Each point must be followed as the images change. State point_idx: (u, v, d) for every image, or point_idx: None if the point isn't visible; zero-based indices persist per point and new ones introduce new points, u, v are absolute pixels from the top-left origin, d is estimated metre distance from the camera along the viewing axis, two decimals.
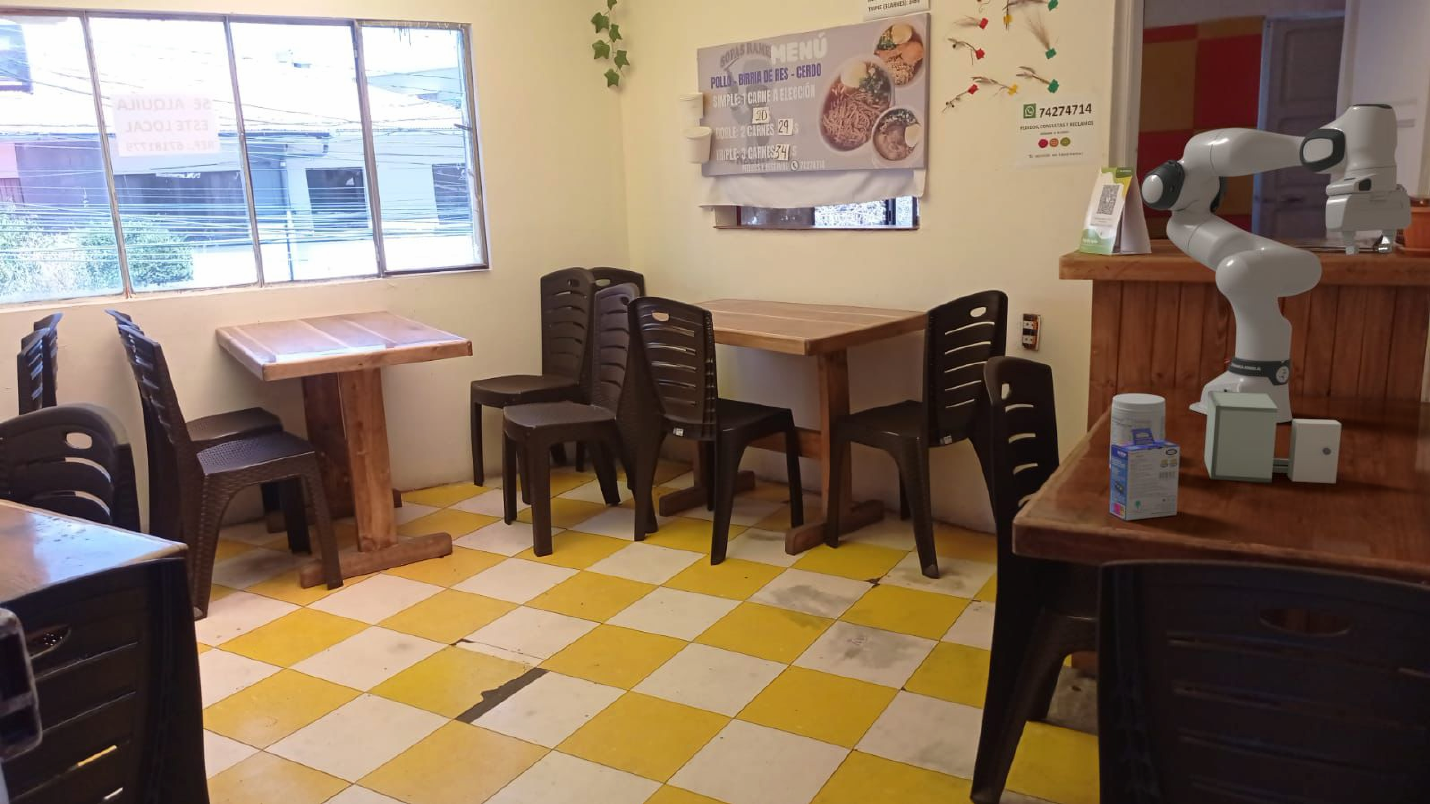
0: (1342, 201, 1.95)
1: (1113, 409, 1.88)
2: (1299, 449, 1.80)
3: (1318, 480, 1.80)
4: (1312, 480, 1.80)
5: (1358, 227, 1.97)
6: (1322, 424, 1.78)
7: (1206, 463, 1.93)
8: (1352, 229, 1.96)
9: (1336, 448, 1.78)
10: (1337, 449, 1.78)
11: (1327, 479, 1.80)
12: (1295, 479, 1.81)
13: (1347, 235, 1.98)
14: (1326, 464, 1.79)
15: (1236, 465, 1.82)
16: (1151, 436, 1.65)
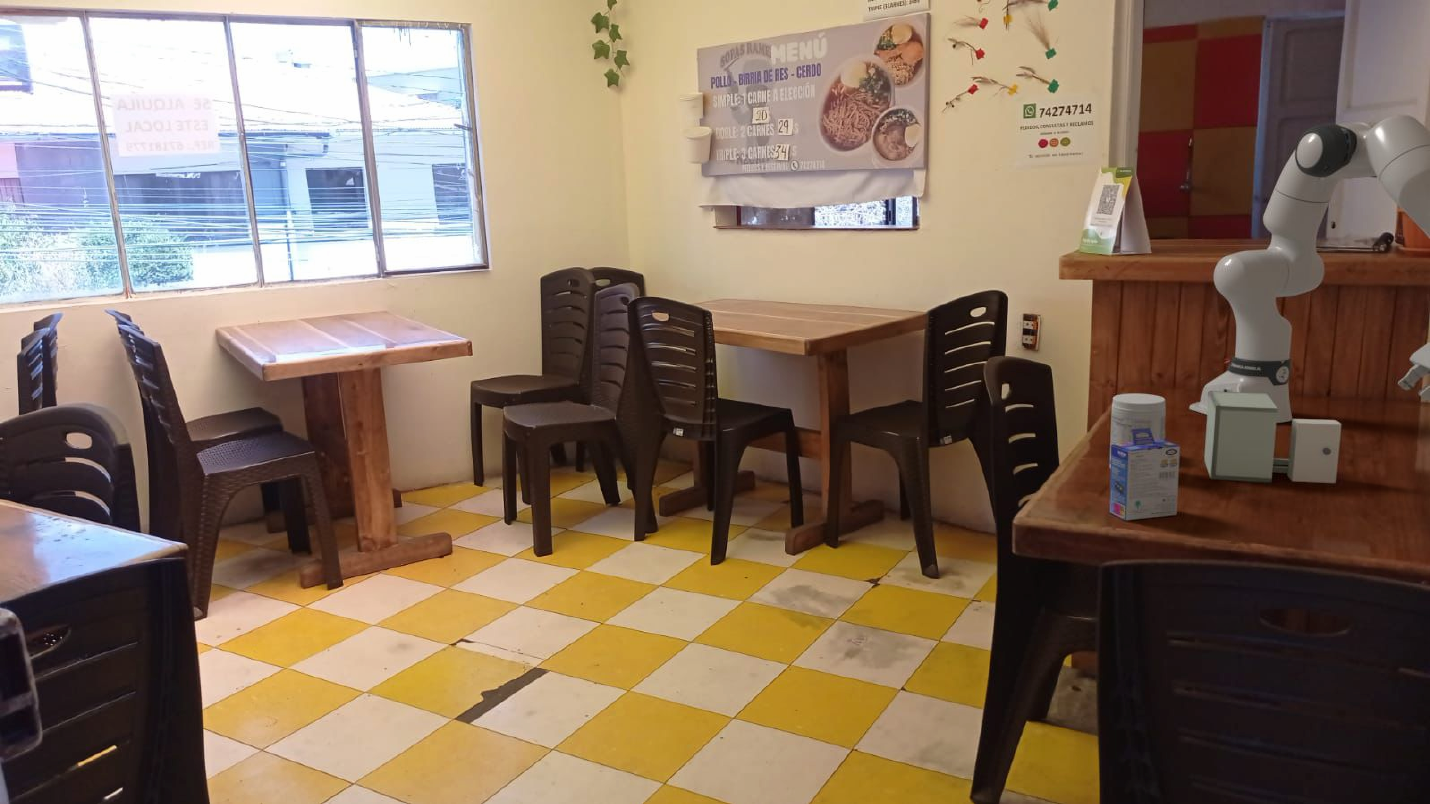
0: None
1: (1113, 409, 1.88)
2: (1299, 449, 1.80)
3: (1318, 480, 1.80)
4: (1312, 480, 1.80)
5: None
6: (1322, 424, 1.78)
7: (1206, 463, 1.93)
8: None
9: (1336, 448, 1.78)
10: (1337, 449, 1.78)
11: (1327, 479, 1.80)
12: (1295, 479, 1.81)
13: None
14: (1326, 464, 1.79)
15: (1236, 465, 1.82)
16: (1151, 436, 1.65)
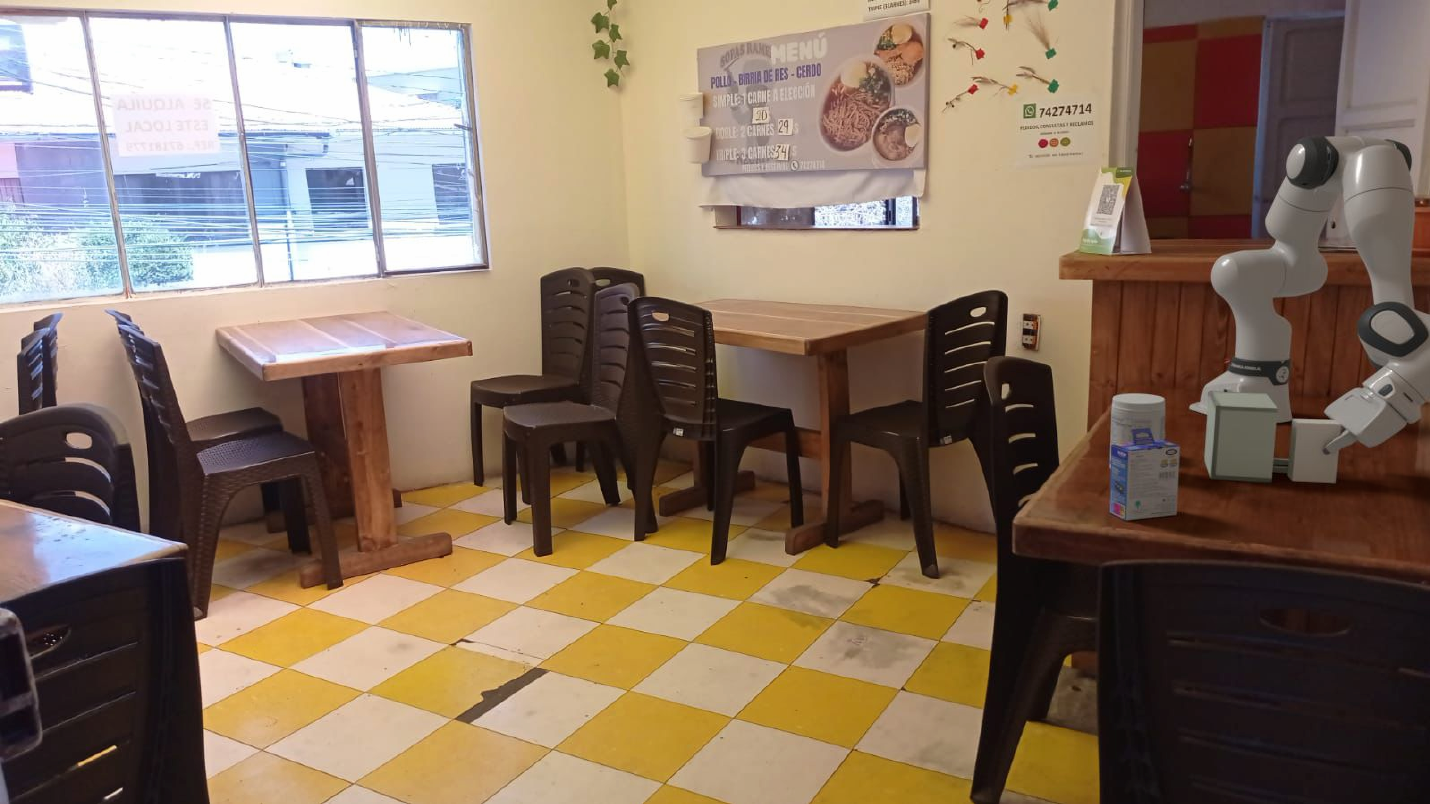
0: (1397, 424, 1.68)
1: (1113, 409, 1.88)
2: (1299, 449, 1.80)
3: (1318, 480, 1.80)
4: (1312, 480, 1.80)
5: None
6: (1322, 424, 1.78)
7: (1206, 463, 1.93)
8: None
9: None
10: None
11: (1327, 479, 1.80)
12: (1295, 479, 1.81)
13: (1351, 439, 1.75)
14: (1326, 464, 1.79)
15: (1236, 465, 1.82)
16: (1151, 436, 1.65)
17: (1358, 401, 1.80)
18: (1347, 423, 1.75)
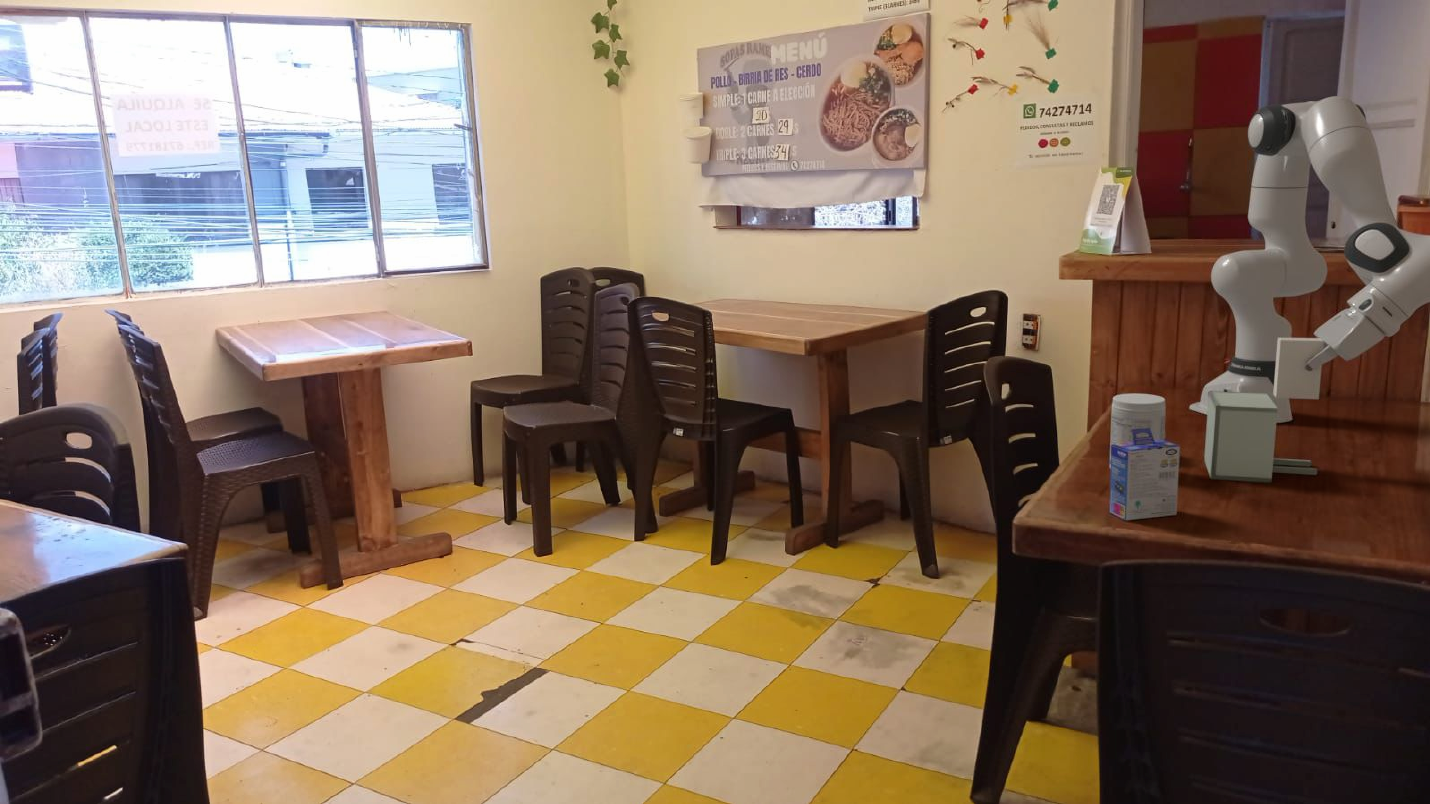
0: (1374, 337, 1.72)
1: (1113, 409, 1.88)
2: (1282, 366, 1.85)
3: (1301, 396, 1.85)
4: (1295, 396, 1.85)
5: None
6: (1305, 341, 1.83)
7: (1206, 463, 1.93)
8: None
9: None
10: None
11: (1310, 395, 1.84)
12: (1278, 396, 1.86)
13: (1331, 354, 1.79)
14: (1309, 381, 1.84)
15: (1236, 465, 1.82)
16: (1151, 436, 1.65)
17: (1343, 319, 1.83)
18: (1328, 339, 1.79)
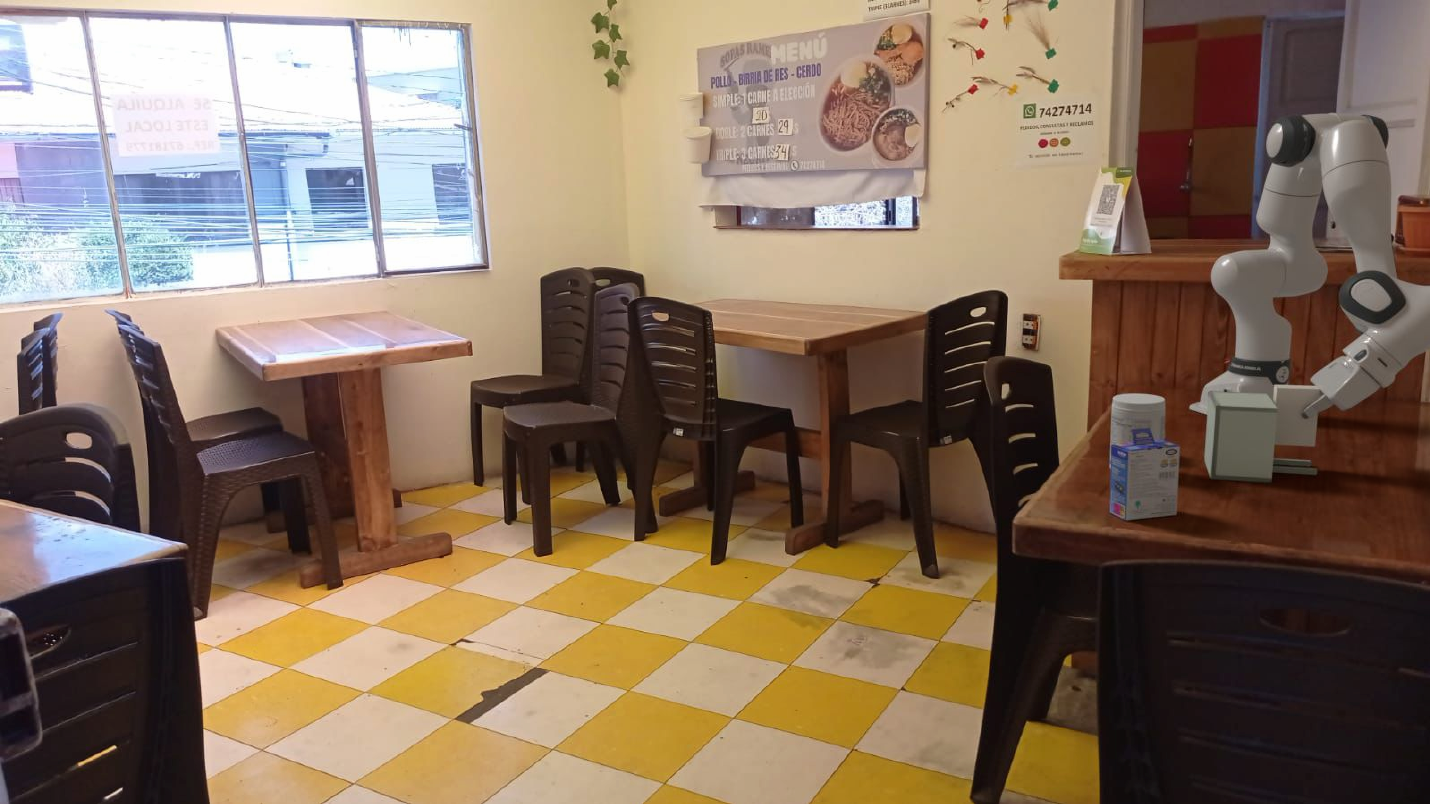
0: (1370, 387, 1.73)
1: (1113, 409, 1.88)
2: (1278, 413, 1.87)
3: (1298, 443, 1.86)
4: (1292, 443, 1.87)
5: None
6: (1301, 389, 1.84)
7: (1206, 463, 1.93)
8: None
9: None
10: None
11: (1306, 443, 1.86)
12: (1275, 442, 1.88)
13: (1327, 403, 1.81)
14: (1306, 428, 1.85)
15: (1236, 465, 1.82)
16: (1151, 436, 1.65)
17: (1339, 367, 1.85)
18: (1324, 388, 1.81)
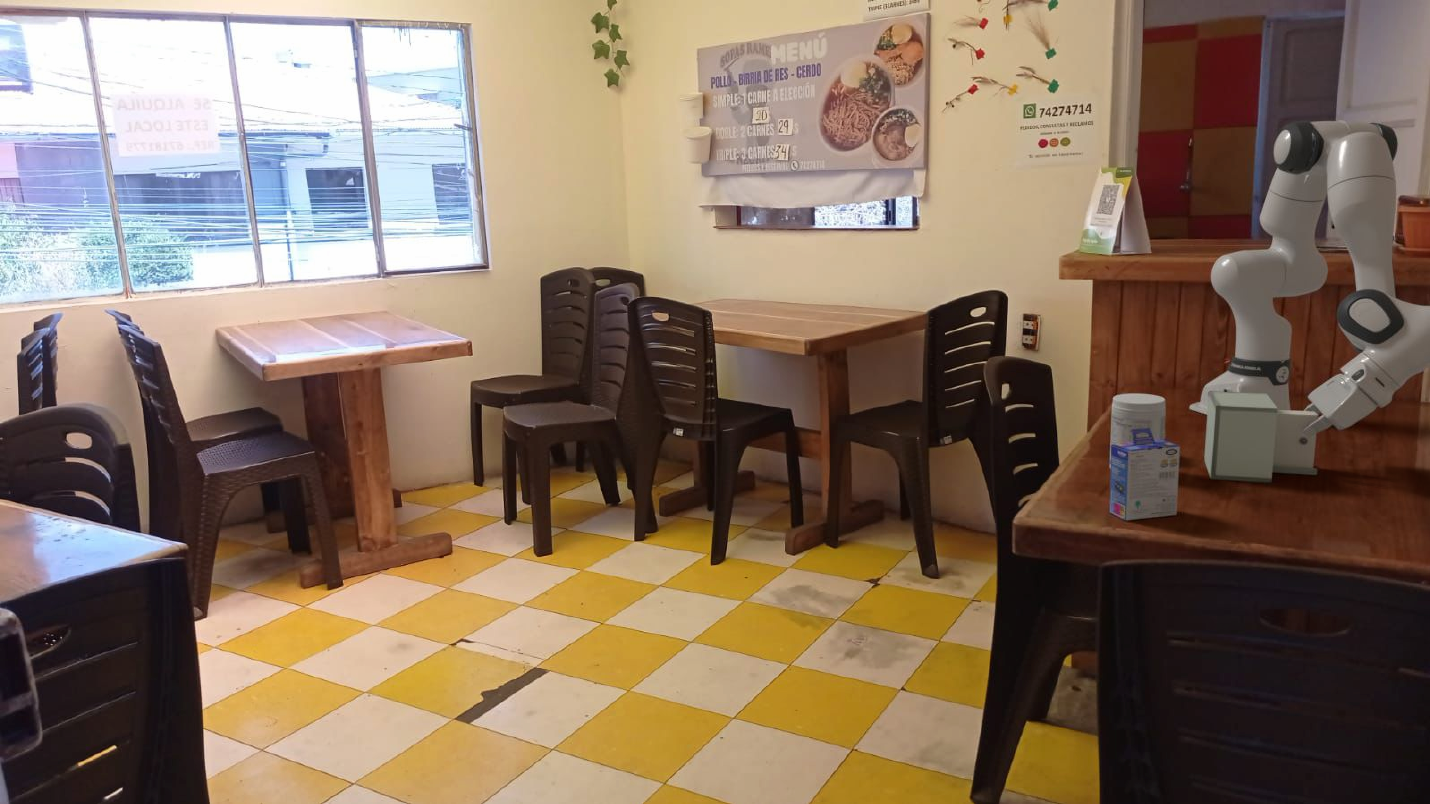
0: (1367, 407, 1.74)
1: (1113, 409, 1.88)
2: (1277, 439, 1.88)
3: None
4: None
5: None
6: (1299, 415, 1.86)
7: (1206, 463, 1.93)
8: None
9: (1313, 438, 1.86)
10: (1314, 439, 1.85)
11: None
12: None
13: (1326, 424, 1.80)
14: (1304, 454, 1.87)
15: (1236, 465, 1.82)
16: (1151, 436, 1.65)
17: (1337, 386, 1.86)
18: (1322, 407, 1.82)
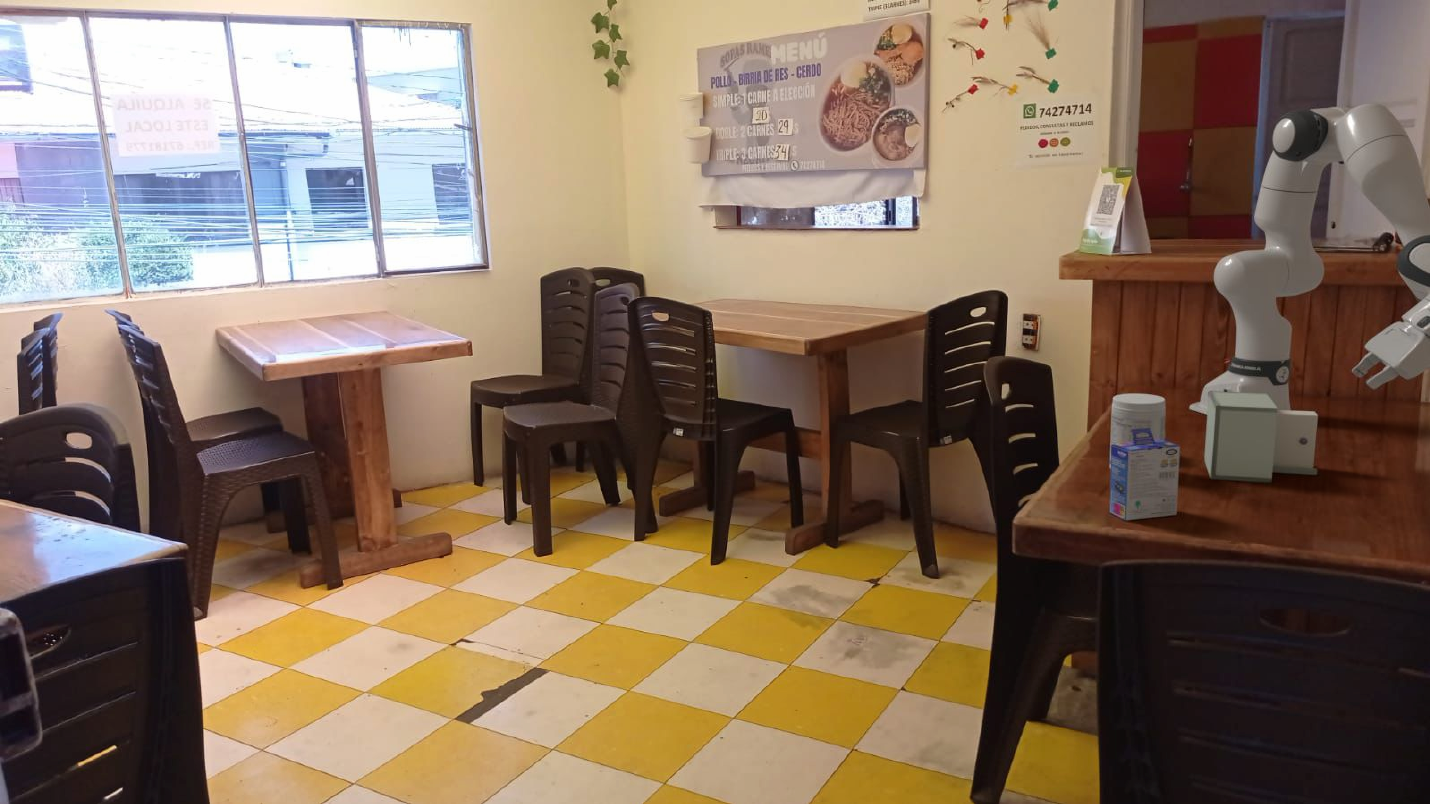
0: None
1: (1113, 409, 1.88)
2: (1277, 439, 1.88)
3: None
4: None
5: None
6: (1299, 415, 1.86)
7: (1206, 463, 1.93)
8: None
9: (1313, 438, 1.85)
10: (1314, 439, 1.85)
11: None
12: None
13: (1392, 374, 1.75)
14: (1304, 454, 1.87)
15: (1236, 465, 1.82)
16: (1151, 436, 1.65)
17: (1397, 334, 1.81)
18: (1385, 356, 1.77)
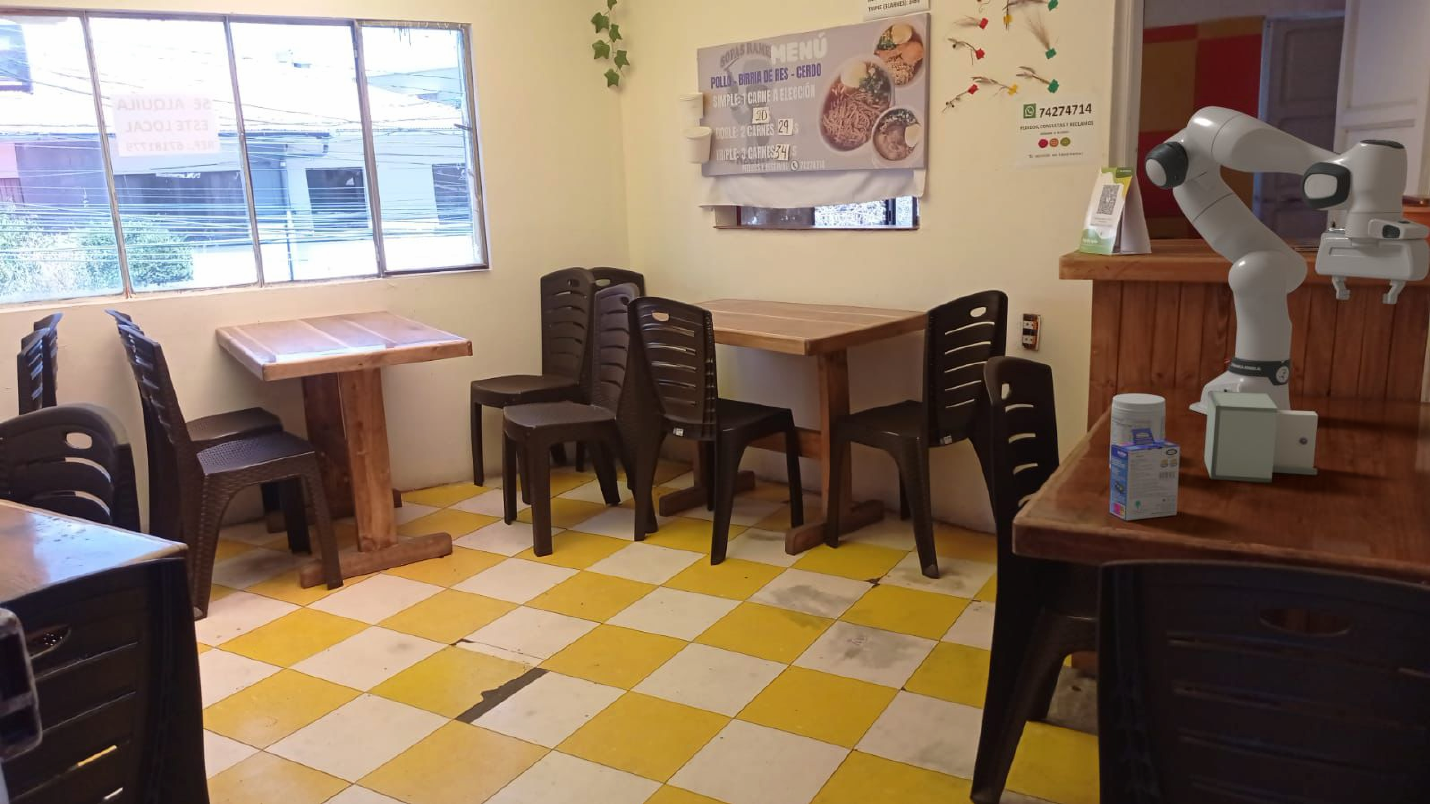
0: (1426, 247, 1.78)
1: (1113, 409, 1.88)
2: (1277, 439, 1.88)
3: None
4: None
5: None
6: (1299, 415, 1.86)
7: (1206, 463, 1.93)
8: None
9: (1313, 438, 1.86)
10: (1314, 439, 1.85)
11: None
12: None
13: (1402, 283, 1.81)
14: (1304, 454, 1.87)
15: (1236, 465, 1.82)
16: (1151, 436, 1.65)
17: (1350, 249, 1.88)
18: (1378, 274, 1.83)
